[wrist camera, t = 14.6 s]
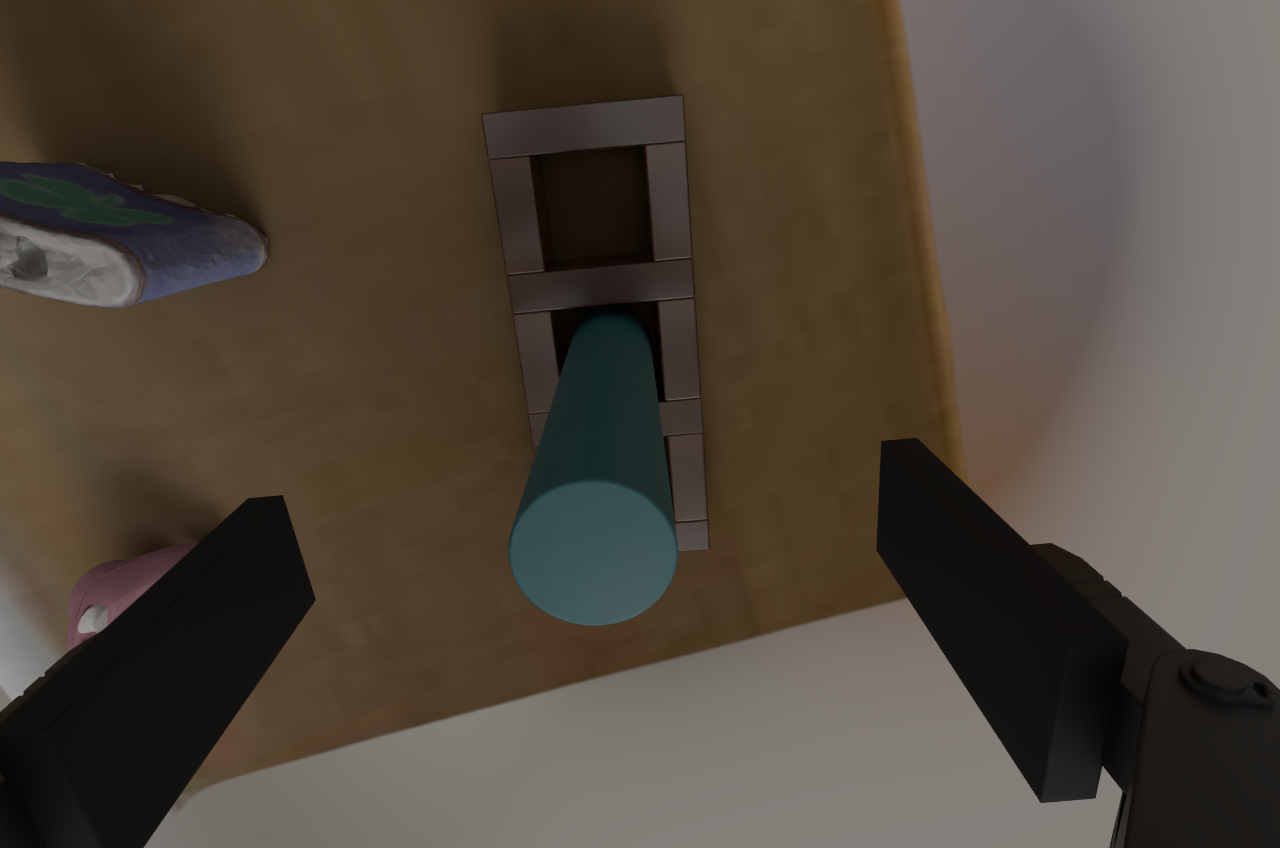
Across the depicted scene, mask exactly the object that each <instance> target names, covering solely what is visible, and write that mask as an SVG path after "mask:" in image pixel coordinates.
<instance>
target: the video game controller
mask: <svg viewBox="0 0 1280 848" xmlns="http://www.w3.org/2000/svg"><path fill="white" fill-rule="evenodd" d="M198 543H199V542H194V543H187V544H180V545H176V546H172V547H167V548H163V549H160V550H157V551H154V552H151V553H147V554H144V555H141V556H138V557H135V558H132V559H129V560H115V561H109V562H106V563H103V564H101V565H99V566H96V567H94V568H93V569H91V570H90V571H88V572H87V573H86V574H85V575H83V577H82V578H81V579H80V580H79V581H78V582H77V584H76V585H75V587H74V589H73V591H72V593H71V596H70V598H69V604H68V608H69V613H70V616H71V619H70V624H69V629H68V635H67V652H68V651H70V650H71V649H72V648H74V647H76V646H77V645H79V644H81V643H82V642H84V641H85V640H87V639H89V638H90V637H92V636H94V635H95V634H97V633H99V632H100V631H102V630H103V629H104V628H106V627H107V626H108V625H109V624H110V623H111V622H112V621H113V620H114V619H116V618H117V617H118V616H119V615H120V614H121V613H122V612H123V611H124V610H125V609H127V608H128V607H129V606H130V605H131V604H132V603H133V602H134V601H135V600H136V599H138V598H139V597H140V596H141V595H142V594H143V593H144V592H145V591H146V590H148V589H149V588H150V587H151V586H152V585H153V584H154V583H155V582H156V581H157V580H159V579H160V578H161V577H162V576H163V575H164V574H165V573H166V572H167V571H168V570H170V569H171V568H172V567H173V566H174V565H175V564H176V563H177V562H178V561H180V560H181V559H182V558H183V557H184V556H185V555H186V554H187V553H188V552H189V551H191V550H192V549H193V548H194V547H195V546H196V545H197V544H198Z"/></svg>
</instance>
